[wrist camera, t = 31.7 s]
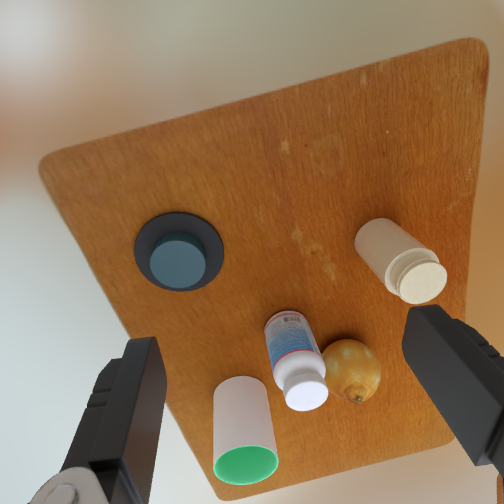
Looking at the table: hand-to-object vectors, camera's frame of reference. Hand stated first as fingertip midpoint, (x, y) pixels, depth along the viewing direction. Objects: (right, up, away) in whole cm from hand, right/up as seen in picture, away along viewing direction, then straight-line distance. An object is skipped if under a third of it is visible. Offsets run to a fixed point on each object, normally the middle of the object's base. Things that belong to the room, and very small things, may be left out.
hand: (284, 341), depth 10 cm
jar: (+14, +4, +29) cm, 33 cm away
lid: (-9, +2, +25) cm, 27 cm away
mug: (-2, -20, +40) cm, 45 cm away
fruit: (+12, -12, +37) cm, 41 cm away
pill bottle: (+4, -7, +34) cm, 35 cm away
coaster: (-9, +3, +27) cm, 29 cm away
